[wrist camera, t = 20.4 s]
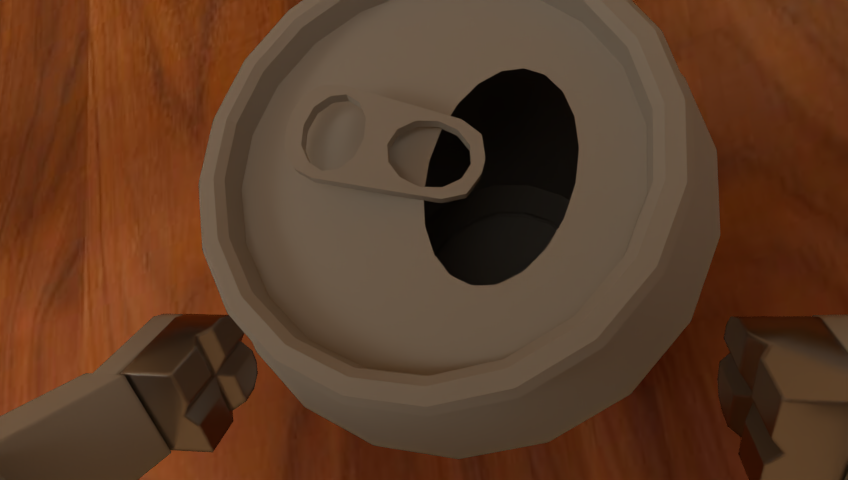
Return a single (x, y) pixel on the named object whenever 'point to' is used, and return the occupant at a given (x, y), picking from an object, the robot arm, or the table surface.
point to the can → (460, 213)
